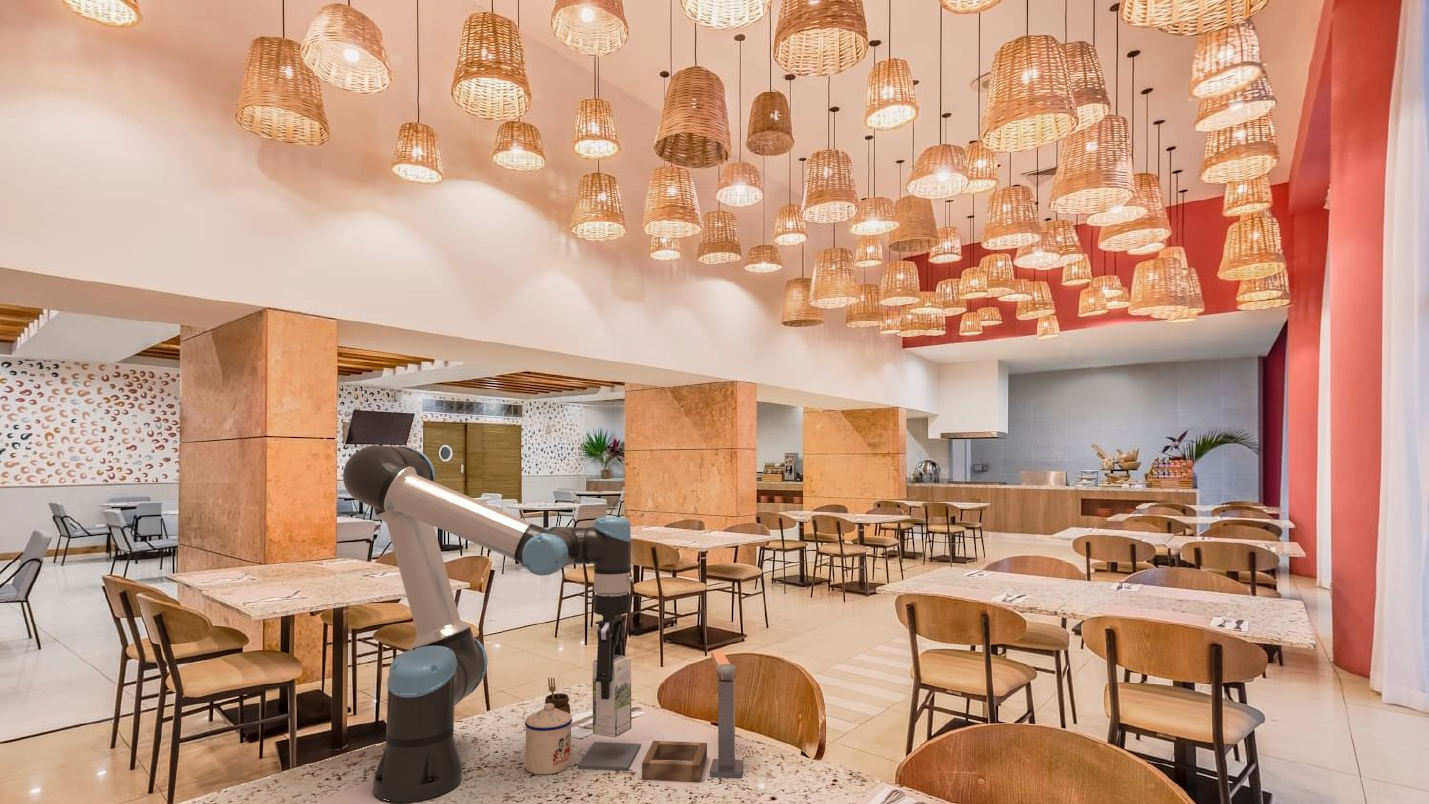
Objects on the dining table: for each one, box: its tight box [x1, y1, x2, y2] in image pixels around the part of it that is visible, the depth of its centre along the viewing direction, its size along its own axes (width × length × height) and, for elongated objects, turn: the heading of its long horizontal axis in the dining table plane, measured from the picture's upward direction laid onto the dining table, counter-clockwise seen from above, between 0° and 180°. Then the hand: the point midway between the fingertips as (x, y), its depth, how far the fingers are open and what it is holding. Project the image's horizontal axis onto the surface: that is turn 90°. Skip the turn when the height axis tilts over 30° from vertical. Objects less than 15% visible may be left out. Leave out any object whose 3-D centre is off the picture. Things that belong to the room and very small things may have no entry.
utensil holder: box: [544, 675, 571, 715], centre depth 159 cm, size 6×6×12 cm
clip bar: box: [710, 649, 737, 680], centre depth 145 cm, size 16×4×2 cm, turn 7°
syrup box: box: [592, 655, 632, 738], centre depth 144 cm, size 6×6×14 cm
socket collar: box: [641, 740, 708, 783], centre depth 138 cm, size 11×11×3 cm
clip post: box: [709, 678, 744, 779], centre depth 137 cm, size 6×6×17 cm
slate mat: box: [576, 741, 642, 772], centre depth 143 cm, size 10×12×1 cm
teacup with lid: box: [524, 703, 573, 775], centre depth 141 cm, size 12×9×12 cm
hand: (611, 708), depth 144 cm, fingers closed on syrup box, 7 cm apart
